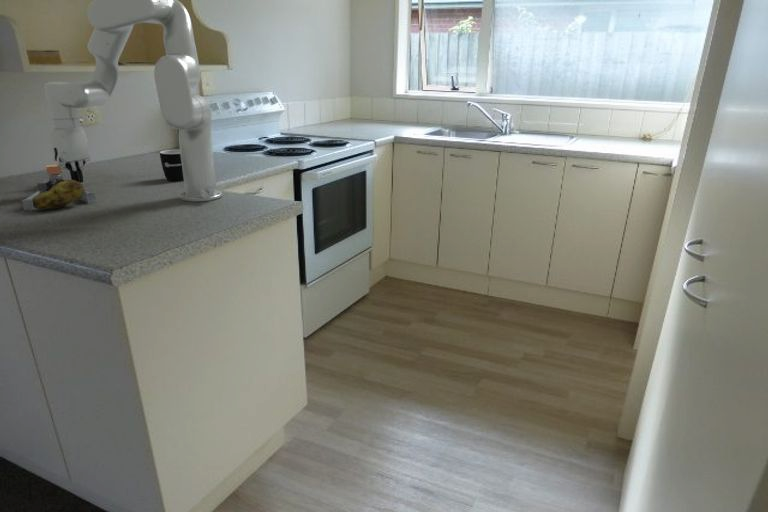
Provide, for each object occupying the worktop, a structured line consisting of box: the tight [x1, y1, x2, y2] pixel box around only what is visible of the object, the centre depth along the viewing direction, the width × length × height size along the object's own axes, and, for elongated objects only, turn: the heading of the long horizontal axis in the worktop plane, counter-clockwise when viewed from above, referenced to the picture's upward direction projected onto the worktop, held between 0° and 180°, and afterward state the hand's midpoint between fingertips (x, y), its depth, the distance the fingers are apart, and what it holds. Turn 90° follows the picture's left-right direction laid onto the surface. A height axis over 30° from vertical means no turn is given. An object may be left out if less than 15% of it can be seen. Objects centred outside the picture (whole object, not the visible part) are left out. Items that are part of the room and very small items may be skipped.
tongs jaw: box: [56, 176, 97, 205], centre depth 164 cm, size 23×2×5 cm, turn 51°
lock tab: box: [45, 164, 62, 175], centre depth 174 cm, size 3×4×2 cm
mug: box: [159, 149, 184, 183], centre depth 188 cm, size 12×9×10 cm
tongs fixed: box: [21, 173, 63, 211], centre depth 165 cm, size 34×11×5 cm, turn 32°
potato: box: [32, 180, 84, 211], centre depth 152 cm, size 8×13×8 cm, turn 109°
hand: (78, 182), depth 168 cm, fingers closed
